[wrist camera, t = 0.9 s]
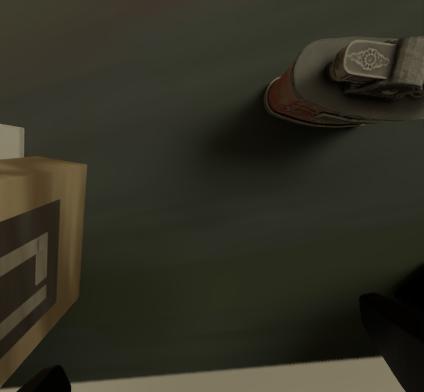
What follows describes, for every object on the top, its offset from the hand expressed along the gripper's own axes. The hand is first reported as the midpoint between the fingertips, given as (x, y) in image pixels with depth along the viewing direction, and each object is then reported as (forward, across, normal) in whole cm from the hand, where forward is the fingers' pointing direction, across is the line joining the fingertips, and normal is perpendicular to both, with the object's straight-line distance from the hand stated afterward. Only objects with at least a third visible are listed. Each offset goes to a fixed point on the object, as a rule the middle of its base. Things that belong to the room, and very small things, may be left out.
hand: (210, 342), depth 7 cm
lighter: (+14, -10, -6) cm, 18 cm away
